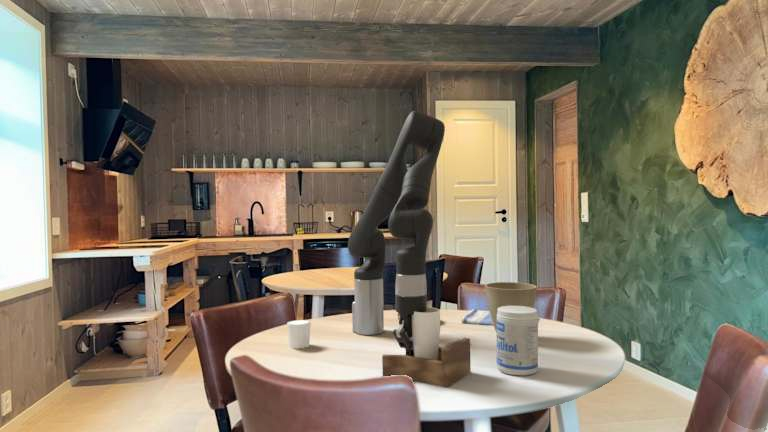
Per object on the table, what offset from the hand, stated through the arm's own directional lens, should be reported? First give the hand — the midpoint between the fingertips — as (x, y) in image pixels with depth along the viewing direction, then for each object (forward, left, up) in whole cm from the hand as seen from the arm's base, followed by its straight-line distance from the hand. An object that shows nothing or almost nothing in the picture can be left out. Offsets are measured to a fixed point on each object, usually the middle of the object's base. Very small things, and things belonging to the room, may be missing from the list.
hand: (411, 363), depth 119 cm
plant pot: (+11, +41, -2) cm, 42 cm away
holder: (+5, 0, -2) cm, 5 cm away
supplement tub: (+22, +13, -2) cm, 25 cm away
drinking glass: (+4, 0, -2) cm, 4 cm away
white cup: (-39, +3, -2) cm, 39 cm away
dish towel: (-1, +63, -2) cm, 63 cm away
